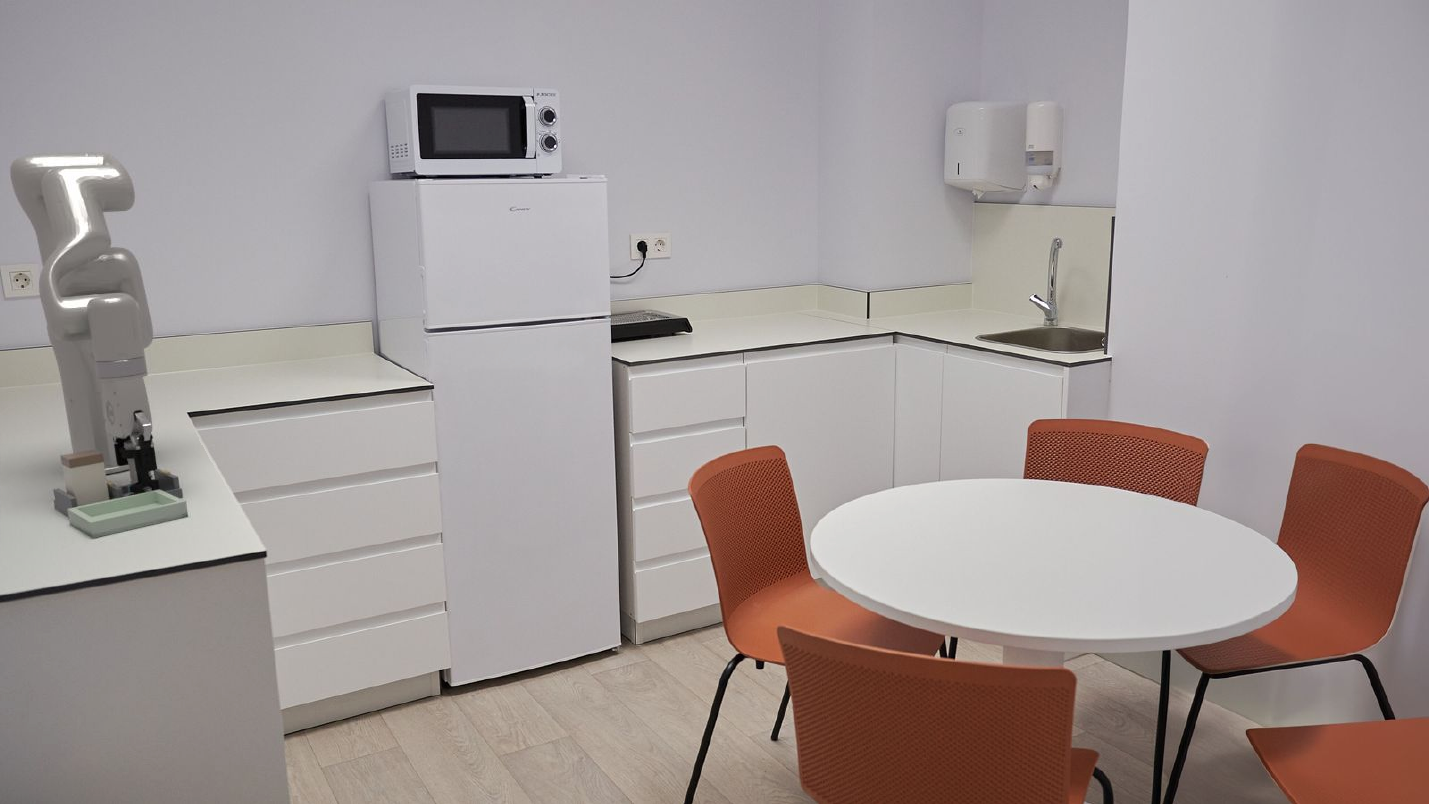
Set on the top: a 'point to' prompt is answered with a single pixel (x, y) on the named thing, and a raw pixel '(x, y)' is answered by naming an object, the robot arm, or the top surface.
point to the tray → (127, 513)
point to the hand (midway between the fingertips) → (137, 467)
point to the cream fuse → (85, 477)
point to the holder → (120, 491)
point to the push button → (138, 480)
